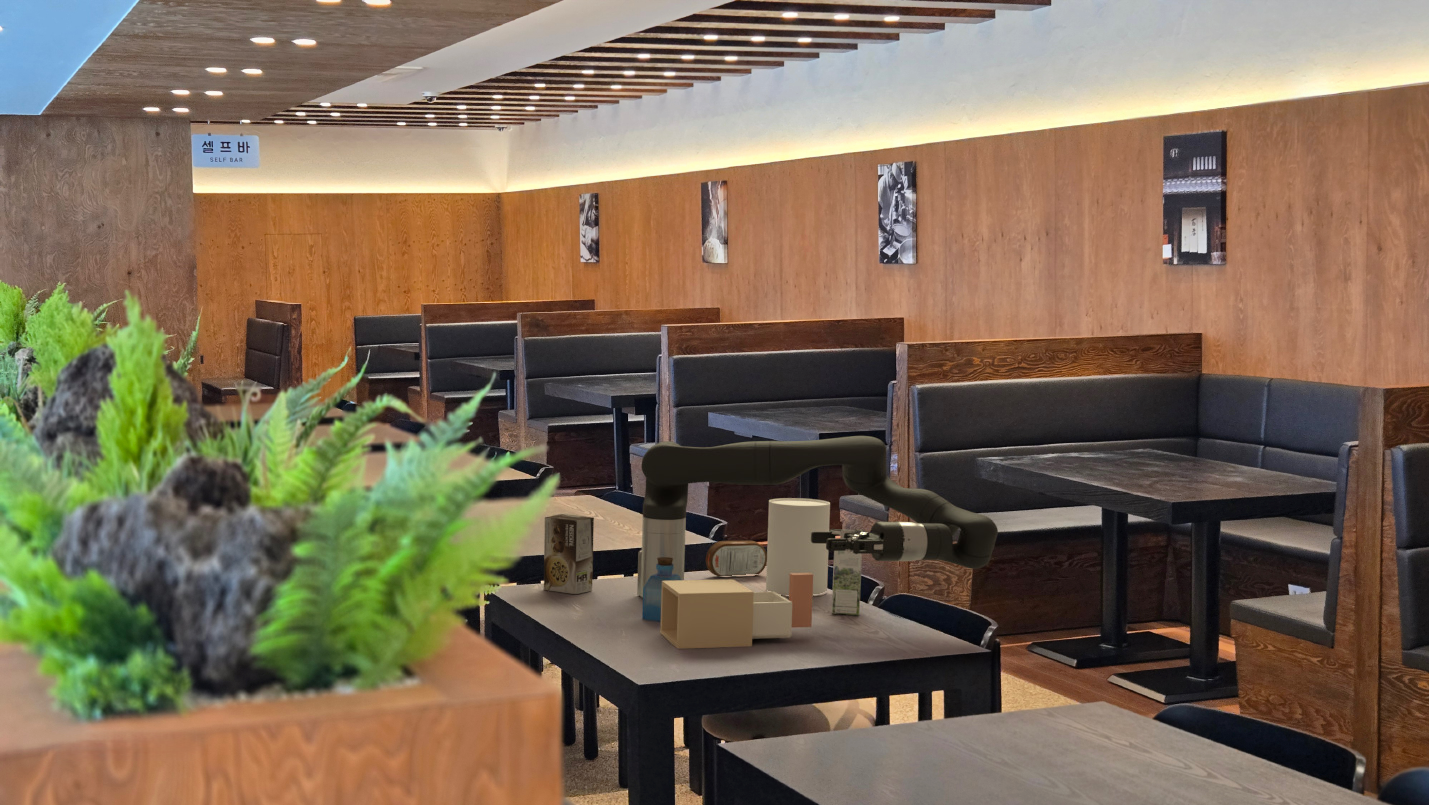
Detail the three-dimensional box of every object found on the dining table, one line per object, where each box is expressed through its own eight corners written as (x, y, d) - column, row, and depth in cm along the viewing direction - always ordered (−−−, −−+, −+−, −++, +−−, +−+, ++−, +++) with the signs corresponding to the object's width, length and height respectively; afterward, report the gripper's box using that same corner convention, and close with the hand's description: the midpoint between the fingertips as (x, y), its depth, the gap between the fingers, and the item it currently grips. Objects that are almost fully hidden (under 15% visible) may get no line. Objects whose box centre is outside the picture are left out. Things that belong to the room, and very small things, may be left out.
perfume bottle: (684, 617, 285) (686, 557, 284) (670, 622, 279) (672, 562, 279) (656, 614, 288) (658, 554, 287) (642, 619, 282) (644, 559, 281)
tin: (762, 574, 339) (763, 539, 338) (768, 576, 336) (769, 541, 335) (704, 577, 332) (705, 541, 332) (709, 579, 330) (711, 543, 329)
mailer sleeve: (677, 648, 257) (679, 593, 256) (660, 633, 269) (661, 580, 269) (751, 646, 261) (753, 592, 260) (731, 631, 273) (733, 579, 273)
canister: (819, 599, 309) (823, 507, 308) (759, 594, 313) (762, 503, 312) (832, 588, 322) (835, 500, 321) (774, 584, 326) (777, 496, 325)
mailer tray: (723, 639, 260) (725, 580, 260) (708, 627, 271) (709, 570, 270) (819, 636, 266) (821, 578, 265) (800, 624, 276) (802, 568, 275)
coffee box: (593, 591, 310) (595, 517, 309) (575, 595, 305) (577, 520, 304) (560, 585, 315) (562, 513, 314) (541, 589, 310) (543, 515, 309)
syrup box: (859, 610, 298) (862, 541, 297) (859, 616, 292) (862, 545, 291) (832, 609, 298) (834, 540, 297) (831, 614, 292) (834, 544, 292)
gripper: (885, 516, 281) (807, 516, 277) (914, 527, 268) (833, 526, 263) (883, 554, 282) (805, 554, 277) (912, 567, 268) (831, 567, 263)
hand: (819, 541), depth 270 cm, fingers open, 8 cm apart
